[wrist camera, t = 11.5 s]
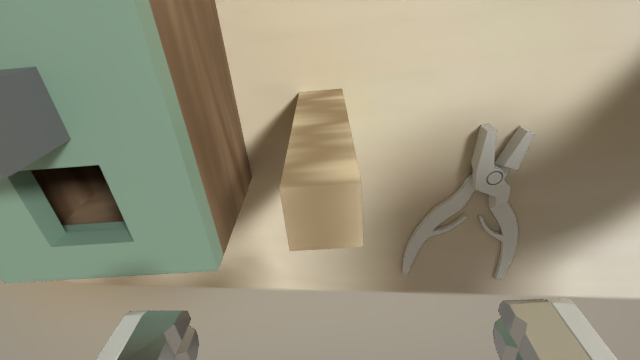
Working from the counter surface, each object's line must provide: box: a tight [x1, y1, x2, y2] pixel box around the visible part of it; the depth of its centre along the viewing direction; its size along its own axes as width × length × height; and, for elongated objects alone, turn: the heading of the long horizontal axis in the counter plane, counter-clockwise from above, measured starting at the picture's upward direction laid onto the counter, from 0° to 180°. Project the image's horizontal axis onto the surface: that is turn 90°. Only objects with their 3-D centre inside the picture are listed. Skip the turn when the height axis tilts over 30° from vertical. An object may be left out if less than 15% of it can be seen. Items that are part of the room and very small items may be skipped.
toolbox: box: [31, 0, 252, 255], centre depth 19 cm, size 12×18×9 cm, turn 5°
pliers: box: [402, 124, 535, 279], centre depth 28 cm, size 10×2×15 cm
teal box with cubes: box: [0, 0, 224, 283], centre depth 13 cm, size 12×18×6 cm, turn 5°
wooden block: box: [279, 89, 363, 251], centre depth 19 cm, size 3×3×13 cm
